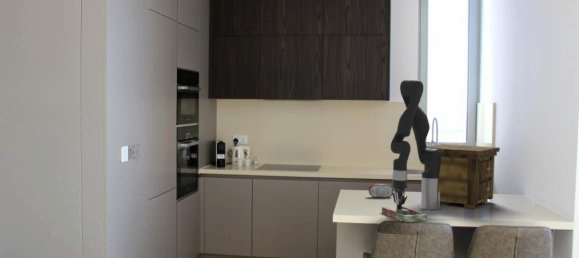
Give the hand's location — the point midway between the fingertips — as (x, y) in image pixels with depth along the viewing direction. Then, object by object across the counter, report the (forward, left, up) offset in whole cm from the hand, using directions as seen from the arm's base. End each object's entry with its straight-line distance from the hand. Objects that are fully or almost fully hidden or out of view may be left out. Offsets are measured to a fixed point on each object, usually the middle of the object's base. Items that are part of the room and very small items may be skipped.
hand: (399, 211), depth 298 cm
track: (0, +5, -2) cm, 5 cm away
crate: (-52, -25, -2) cm, 58 cm away
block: (0, +4, -2) cm, 5 cm away
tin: (-15, -52, -2) cm, 54 cm away
